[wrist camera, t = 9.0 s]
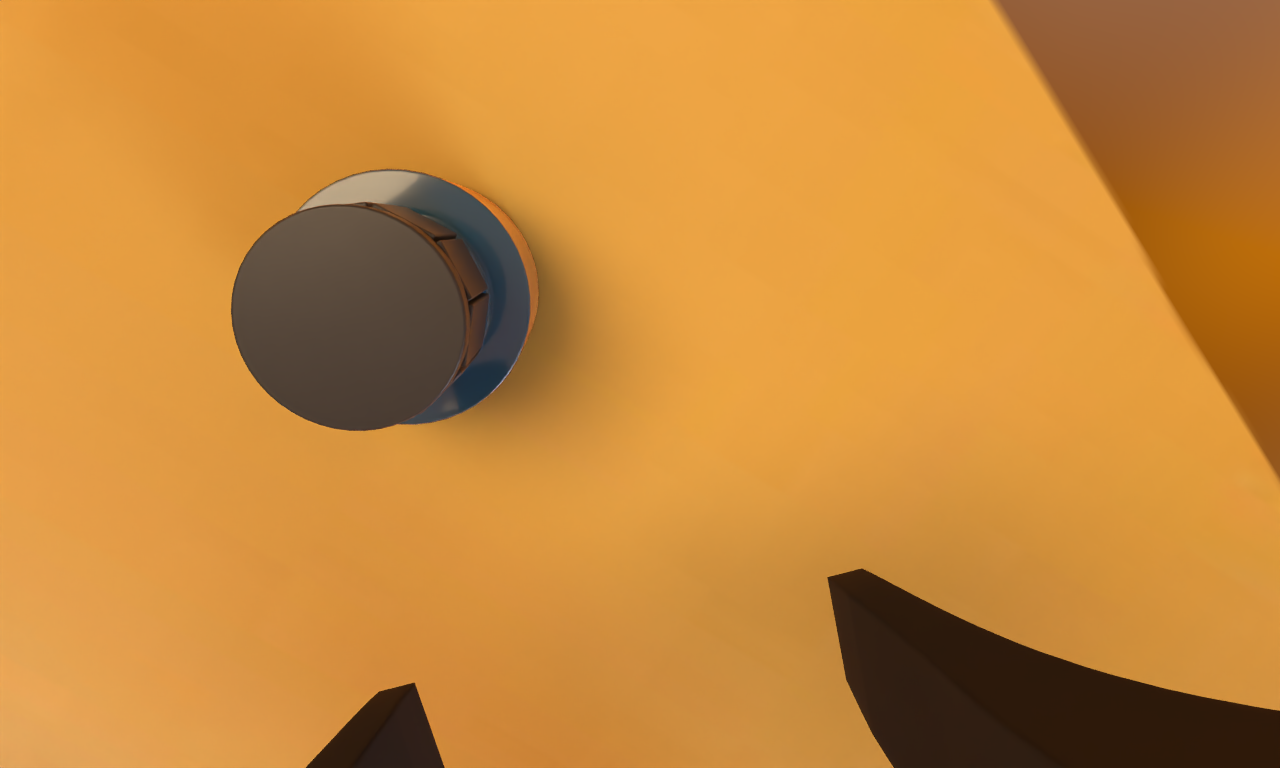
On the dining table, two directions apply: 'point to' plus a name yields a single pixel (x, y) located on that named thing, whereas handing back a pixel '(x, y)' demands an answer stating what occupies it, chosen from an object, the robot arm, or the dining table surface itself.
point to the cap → (358, 313)
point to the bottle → (493, 253)
